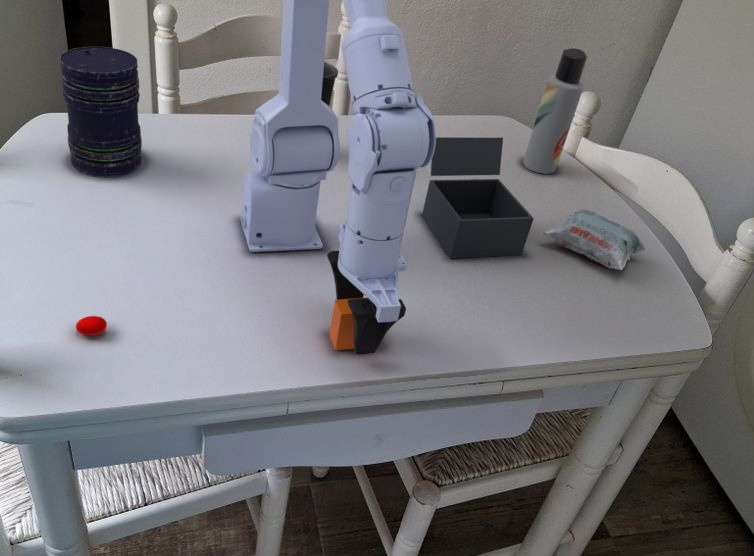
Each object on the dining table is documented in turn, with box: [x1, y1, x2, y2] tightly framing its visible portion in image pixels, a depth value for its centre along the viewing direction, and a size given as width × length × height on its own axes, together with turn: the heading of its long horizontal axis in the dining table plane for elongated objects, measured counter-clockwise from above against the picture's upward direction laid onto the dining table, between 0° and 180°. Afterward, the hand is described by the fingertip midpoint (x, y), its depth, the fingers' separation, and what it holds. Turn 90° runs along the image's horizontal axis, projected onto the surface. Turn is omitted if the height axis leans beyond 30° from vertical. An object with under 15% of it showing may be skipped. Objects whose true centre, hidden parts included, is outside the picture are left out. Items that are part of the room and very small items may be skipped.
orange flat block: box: [329, 297, 368, 351], centre depth 76 cm, size 5×2×5 cm, turn 106°
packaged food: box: [542, 209, 646, 271], centre depth 99 cm, size 9×12×5 cm
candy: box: [75, 315, 108, 336], centre depth 72 cm, size 3×2×2 cm, turn 103°
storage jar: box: [59, 46, 143, 178], centre depth 98 cm, size 10×10×15 cm
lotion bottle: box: [522, 47, 588, 175], centre depth 115 cm, size 6×6×20 cm
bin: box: [421, 178, 535, 260], centre depth 98 cm, size 11×11×6 cm
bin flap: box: [430, 136, 504, 177], centre depth 99 cm, size 5×11×1 cm
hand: (355, 331), depth 77 cm, fingers open, 6 cm apart
